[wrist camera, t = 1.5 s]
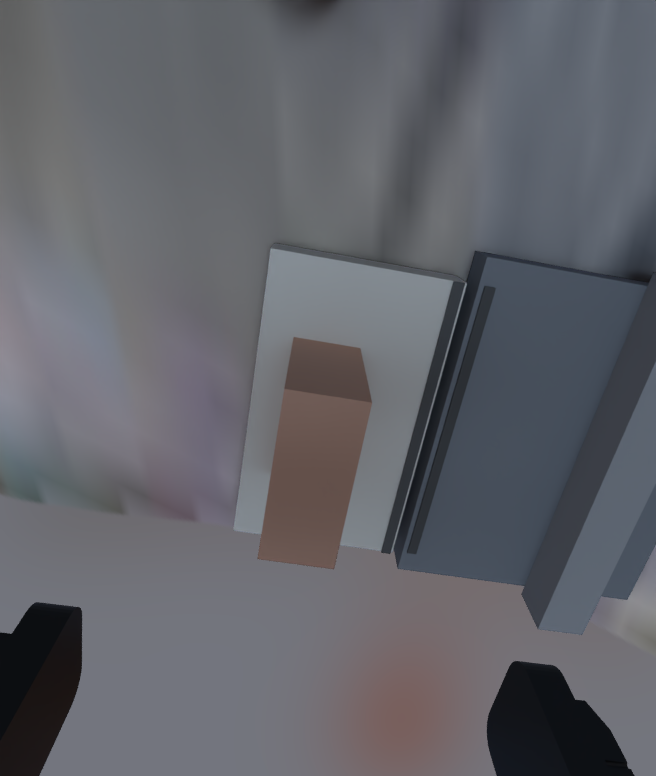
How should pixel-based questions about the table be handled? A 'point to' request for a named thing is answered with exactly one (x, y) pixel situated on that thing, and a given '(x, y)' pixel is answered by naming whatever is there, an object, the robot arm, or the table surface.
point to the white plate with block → (340, 401)
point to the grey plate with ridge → (541, 440)
